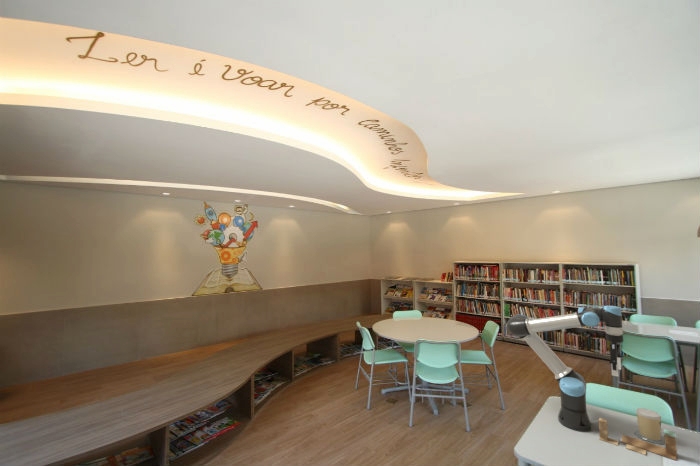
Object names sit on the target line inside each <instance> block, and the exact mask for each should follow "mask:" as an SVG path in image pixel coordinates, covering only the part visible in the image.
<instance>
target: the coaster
mask: <svg viewBox="0 0 700 466" xmlns="http://www.w3.org/2000/svg"><path fill="white" fill-rule="evenodd" d="M634 434H635V436H637V437H639V438H640V439H641V440H643V441H645V442H648V443H651V444H655V445H657V444H658V445H665V436H663V435H661V439H660V440H659V441H654V440H650V439H647V438H645V437H643V436H642V435H641V434H640V432H639V428H638V429H637V428H636V429H635V430H634Z"/></svg>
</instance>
